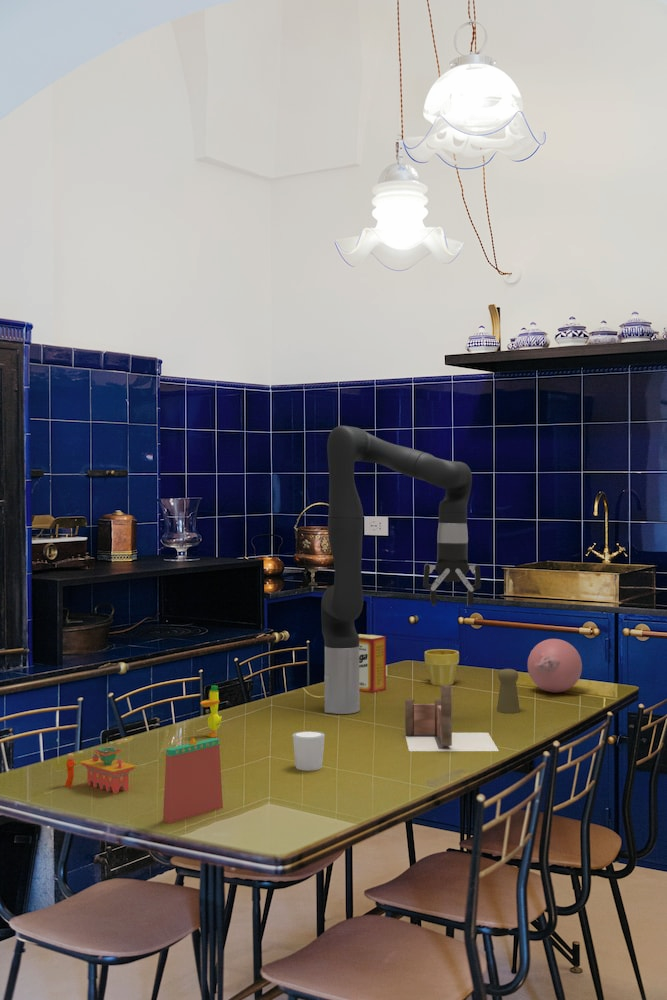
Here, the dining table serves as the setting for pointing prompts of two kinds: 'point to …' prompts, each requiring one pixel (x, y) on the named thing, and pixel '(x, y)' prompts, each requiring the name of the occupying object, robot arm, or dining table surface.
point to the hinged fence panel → (445, 716)
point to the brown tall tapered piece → (508, 692)
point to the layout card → (458, 742)
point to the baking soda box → (372, 663)
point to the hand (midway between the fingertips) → (451, 606)
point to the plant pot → (442, 666)
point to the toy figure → (213, 710)
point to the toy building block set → (166, 777)
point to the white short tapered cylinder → (308, 750)
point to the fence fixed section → (420, 718)
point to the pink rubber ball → (554, 665)
